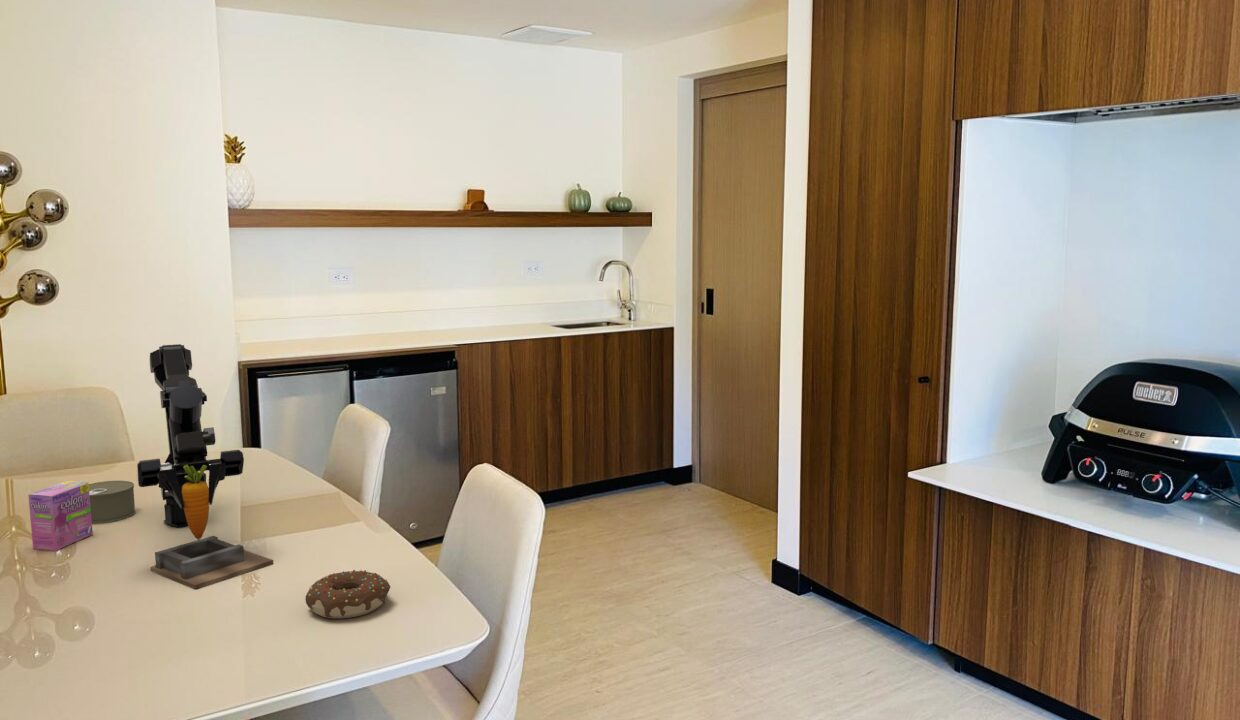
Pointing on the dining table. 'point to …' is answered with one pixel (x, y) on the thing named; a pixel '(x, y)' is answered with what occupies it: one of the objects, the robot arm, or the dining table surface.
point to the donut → (347, 594)
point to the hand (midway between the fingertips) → (196, 505)
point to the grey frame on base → (206, 562)
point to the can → (111, 501)
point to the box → (60, 515)
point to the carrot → (196, 501)
